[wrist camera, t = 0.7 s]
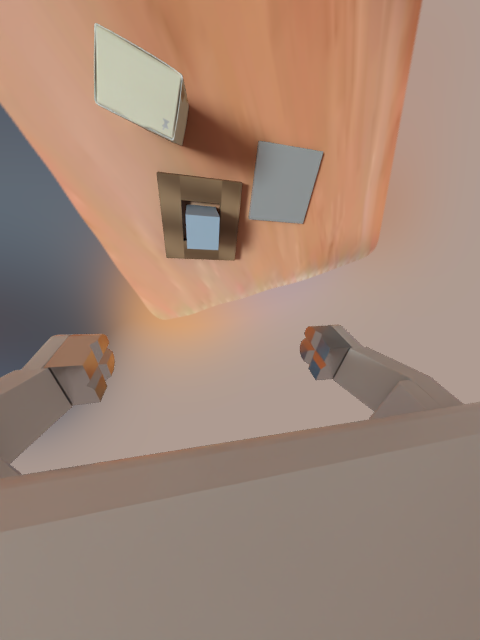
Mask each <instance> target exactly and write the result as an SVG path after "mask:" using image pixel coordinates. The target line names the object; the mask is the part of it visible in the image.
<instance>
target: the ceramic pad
mask: <svg viewBox="0 0 480 640" xmlns="http://www.w3.org/2000/svg"><path fill="white" fill-rule="evenodd" d="M322 155H323V152H322V151H316V150H310V149H305V148H299V147H293V146H287V145H281V144H275V143H270V142H264V141H258V148H257V156H256V164H255V172H254V180H253V187H252V195H251V203H250V211H249V219H253V220H265V221H277V222H289V223H301V224H303V221H304V218H305V214H306V211H307V207H308V204H309V200H310V197H311V193H312V190H313V186H314V183H315V179H316V176H317V173H318V169H319V166H320V162H321V159H322Z"/></svg>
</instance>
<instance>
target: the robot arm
mask: <svg viewBox="0 0 480 640" xmlns="http://www.w3.org/2000/svg"><path fill="white" fill-rule="evenodd" d="M304 334H305V337H306V338H305V339H303V340H302V341H301V345H300V354H301V357H302V359H303V360H304V361H305V362H306V363H308V364H309V370H310V372H311V373H312V375H313V377H314V378H315V380H326V379H333V380H334V381H335V382H337V383H338V384H339V385H340V386H342V387H343V388H344V389H346V390H347V391H348V392H350V393H351V394H352V395H353V396H355V397H356V398H357V399H359V400H360V401H361V402H362V403H364V404H365V405H366V406H368V407H369V408H370V409H372V410H373V411H374V413H373V414H372V415H371V417H370V418H369V420H364V421H358V422H351V423H344V424H338V425H332V426H326V427H319V428H313V429H307V430H300V431H294V432H288V433H282V434H276V435H269V436H263V437H256V438H250V439H244V440H237V441H231V442H225V443H219V444H213V445H206V446H200V447H194V448H187V449H181V450H175V451H169V452H162V453H156V454H150V455H144V456H137V457H131V458H125V459H119V460H112V461H106V462H99V463H93V464H87V465H81V466H75V467H68V468H62V469H55V470H49V471H43V472H37V473H30V474H24V475H22V474H21V473H20V472H19V471H18V470H16V469H15V468H14V467H12V466H11V465H10V463H12V462H13V461H14V460H15V459H16V458H17V457H18V456H19V455H20V454H21V453H22V452H24V450H25V449H27V448H28V447H29V446H30V445H31V444H32V443H33V442H34V441H35V440H37V439H38V438H39V437H40V436H41V435H42V434H43V433H44V432H45V431H47V430H48V428H50V427H51V426H52V425H53V424H54V423H55V422H56V421H57V420H58V419H60V417H62V416H63V415H64V414H65V413H66V412H67V411H68V410H69V409H70V408H72V406H73V405H82V404H89V403H97V402H101V400H102V397H103V395H104V393H105V390H106V388H107V384H106V382H105V381H106V380H107V379H108V378H109V377H111V376H112V373H113V371H114V364H115V360H114V355H113V352H112V351H111V350H110V349H108V348H107V346H108V344H109V340H108V338H107V336H106V335H105V334H73V335H55V336H52V337H51V338H50V339H49V340H48V341H47V342H46V343H45V344H44V345H43V346H42V347H41V349H40V350H39V351H38V352H37V353H36V354H35V355H34V356H33V357H32V358H31V359H30V361H29V362H28V363H27V364H26V365H25V366H24V367H23V368H22V370H14V371H13V372H11V373H9V374H7V375H5V376H3V377H1V378H0V640H480V402H476V403H470V404H463V403H462V402H460V401H459V400H458V399H457V398H456V397H454V396H453V395H452V394H451V393H449V392H448V391H447V390H446V389H445V388H444V387H442V386H441V385H440V384H439V383H437V382H436V381H435V380H434V379H433V378H431V377H430V376H428V375H426V374H423V373H421V372H419V371H417V370H415V369H413V368H411V367H408V366H406V365H404V364H402V363H400V362H398V361H396V360H394V359H392V358H389V357H387V356H385V355H383V354H381V353H379V352H376V351H374V350H372V349H370V348H368V347H363V346H362V345H361V344H360V343H359V342H358V341H357V340H356V339H355V338H354V337H353V336H352V335H351V334H350V333H349V332H347V330H345V328H343V327H342V326H341V325H328V326H309V327H307V328H306V330H305V333H304Z"/></svg>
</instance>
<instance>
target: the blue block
mask: <svg viewBox="0 0 480 640" xmlns="http://www.w3.org/2000/svg"><path fill="white" fill-rule="evenodd" d="M219 223H220V217H219V214H218V212H217V210H216V207H211V206H200V205H189V204H187V206H186V233H187V249H205V250H218V245H219Z"/></svg>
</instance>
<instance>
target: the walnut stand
mask: <svg viewBox="0 0 480 640" xmlns="http://www.w3.org/2000/svg"><path fill="white" fill-rule="evenodd" d="M157 181H158V189H159V198H160V206H161V215H162V223H163V232H164V240H165V249H166V257H167V258H182V259H209V260H235V251H236V241H237V232H238V222H239V212H240V202H241V192H242V182H237V181H229V180H221V179H213V178H205V177H196V176H188V175H180V174H172V173H164V172H157ZM181 200H186V201H196V202H206V203H217V204H220V223H219V245H218V250H205V249H187V239H186V238H184V235H183V218H182V201H181Z"/></svg>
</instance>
